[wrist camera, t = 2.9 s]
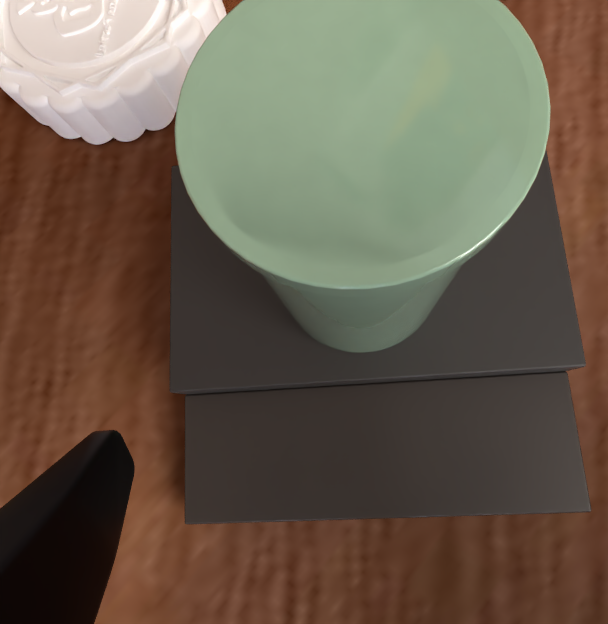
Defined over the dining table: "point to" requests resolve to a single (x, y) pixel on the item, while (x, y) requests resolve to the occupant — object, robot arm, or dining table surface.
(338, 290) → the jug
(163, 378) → the dining table surface
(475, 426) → the step shelf
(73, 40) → the mooncake
